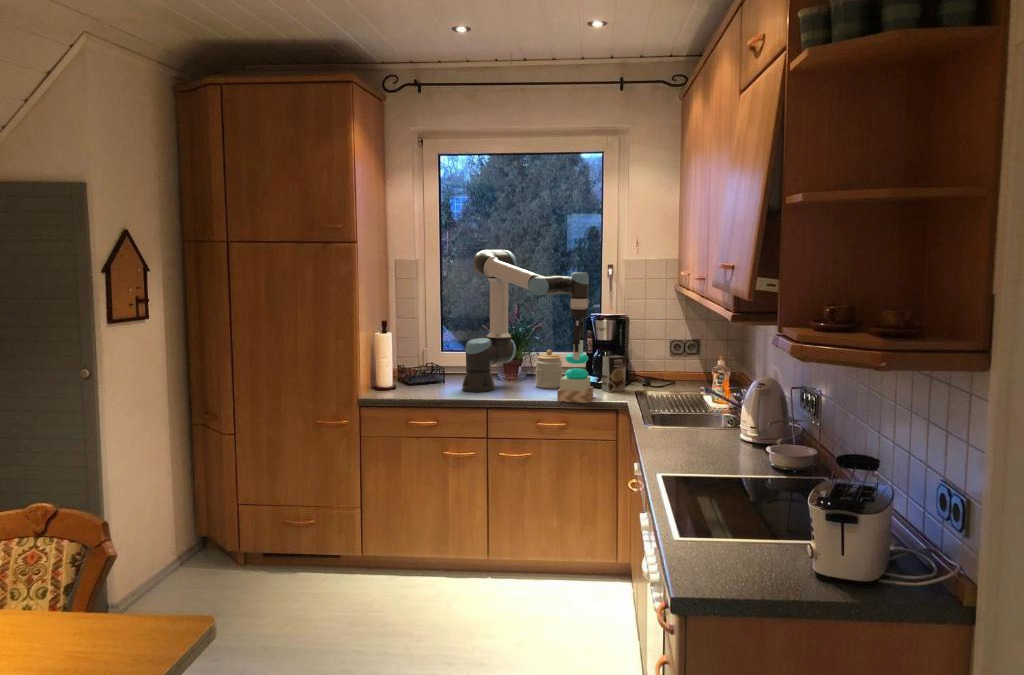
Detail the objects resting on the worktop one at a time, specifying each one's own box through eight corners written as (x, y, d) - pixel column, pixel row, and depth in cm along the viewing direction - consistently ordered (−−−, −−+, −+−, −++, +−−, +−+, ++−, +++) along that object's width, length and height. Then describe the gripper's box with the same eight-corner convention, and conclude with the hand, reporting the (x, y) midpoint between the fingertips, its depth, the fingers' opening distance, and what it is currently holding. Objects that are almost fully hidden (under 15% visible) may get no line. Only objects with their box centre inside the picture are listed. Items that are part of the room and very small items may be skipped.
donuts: (579, 352, 342) (593, 355, 334) (578, 375, 343) (593, 377, 335) (560, 354, 337) (574, 356, 329) (560, 377, 338) (574, 380, 330)
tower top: (560, 390, 334) (560, 378, 333) (566, 386, 344) (566, 374, 344) (585, 391, 331) (585, 380, 330) (590, 387, 341) (590, 376, 340)
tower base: (557, 402, 333) (557, 391, 332) (561, 396, 346) (562, 385, 346) (589, 403, 330) (589, 392, 329) (593, 397, 343) (593, 386, 343)
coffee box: (609, 392, 353) (610, 357, 351) (601, 390, 359) (602, 355, 357) (625, 390, 357) (626, 356, 355) (617, 388, 363) (618, 354, 361)
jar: (539, 389, 361) (539, 351, 359) (532, 384, 373) (532, 348, 371) (566, 388, 364) (566, 351, 362) (558, 383, 376) (558, 347, 374)
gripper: (585, 311, 320) (584, 361, 322) (590, 306, 344) (589, 353, 347) (567, 310, 321) (566, 360, 324) (573, 305, 345) (572, 352, 348)
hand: (578, 357), depth 335 cm, fingers open, 13 cm apart
